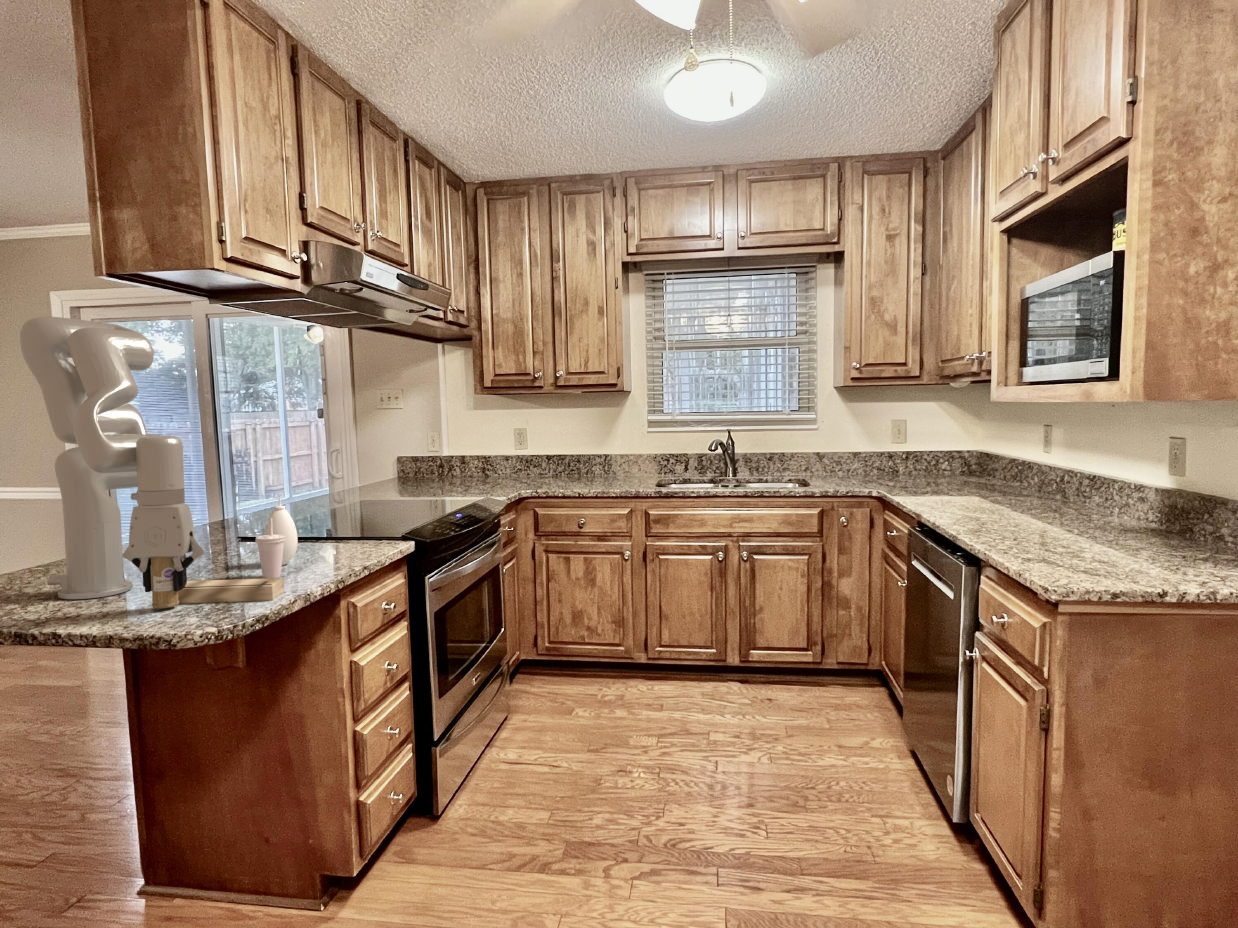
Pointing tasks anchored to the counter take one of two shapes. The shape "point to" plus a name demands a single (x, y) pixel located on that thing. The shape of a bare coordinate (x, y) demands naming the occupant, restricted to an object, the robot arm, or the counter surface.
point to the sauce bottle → (283, 531)
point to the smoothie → (271, 553)
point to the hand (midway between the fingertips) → (165, 589)
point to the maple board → (231, 590)
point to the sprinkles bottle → (163, 583)
